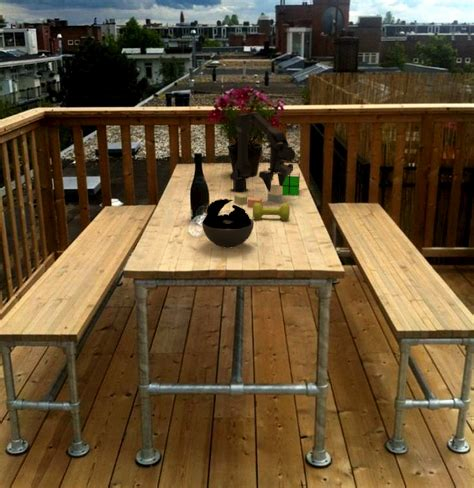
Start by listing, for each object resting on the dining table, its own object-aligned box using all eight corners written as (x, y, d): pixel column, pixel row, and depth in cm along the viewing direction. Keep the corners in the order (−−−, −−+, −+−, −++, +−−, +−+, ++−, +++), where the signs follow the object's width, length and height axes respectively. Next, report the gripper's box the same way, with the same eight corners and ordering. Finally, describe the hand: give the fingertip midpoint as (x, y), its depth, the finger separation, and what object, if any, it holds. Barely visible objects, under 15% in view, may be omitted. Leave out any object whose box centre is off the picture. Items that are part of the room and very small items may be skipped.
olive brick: (234, 202, 309) (234, 194, 307) (241, 201, 310) (241, 193, 309) (239, 205, 303) (239, 197, 302) (247, 204, 305) (247, 196, 304)
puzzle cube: (299, 190, 330) (299, 172, 327) (298, 195, 321) (299, 176, 318) (279, 190, 331) (280, 171, 328) (279, 195, 322) (279, 176, 319)
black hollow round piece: (204, 237, 257) (203, 193, 251) (253, 238, 257) (254, 193, 251) (200, 254, 239) (199, 207, 232) (253, 255, 238) (253, 207, 232)
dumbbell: (289, 217, 286) (289, 201, 283) (289, 222, 278) (289, 206, 276) (253, 216, 287) (253, 200, 285) (252, 221, 280) (252, 205, 277)
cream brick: (267, 193, 309) (267, 185, 308) (272, 192, 312) (272, 184, 311) (277, 195, 306) (277, 187, 304) (282, 194, 308) (282, 186, 307)
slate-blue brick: (267, 201, 310) (267, 193, 309) (271, 199, 313) (272, 192, 312) (277, 203, 307) (278, 195, 306) (282, 201, 310) (282, 193, 309)
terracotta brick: (247, 207, 300) (247, 199, 299) (250, 205, 304) (250, 197, 303) (259, 208, 298) (259, 200, 297) (262, 206, 302) (262, 198, 301)
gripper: (276, 163, 291) (276, 196, 297) (301, 157, 305) (299, 188, 310) (258, 160, 298) (257, 192, 304) (282, 154, 312) (282, 185, 317)
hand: (275, 189), depth 308 cm, fingers open, 9 cm apart
